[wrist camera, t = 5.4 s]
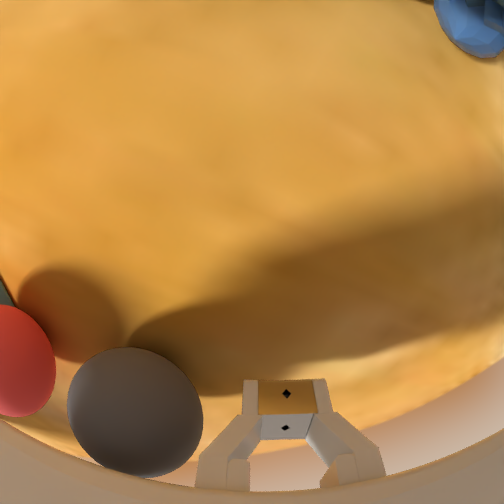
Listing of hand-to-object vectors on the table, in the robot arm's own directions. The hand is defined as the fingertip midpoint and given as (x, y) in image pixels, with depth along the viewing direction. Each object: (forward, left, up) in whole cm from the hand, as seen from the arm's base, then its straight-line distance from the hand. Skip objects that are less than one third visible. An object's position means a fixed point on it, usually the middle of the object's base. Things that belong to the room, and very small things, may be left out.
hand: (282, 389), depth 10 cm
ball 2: (+1, -6, +1) cm, 6 cm away
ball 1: (0, -13, +1) cm, 13 cm away
